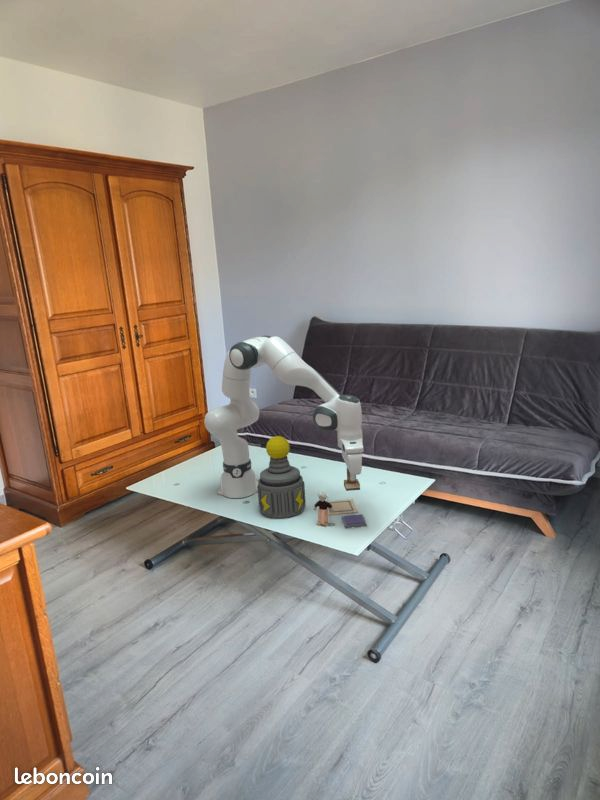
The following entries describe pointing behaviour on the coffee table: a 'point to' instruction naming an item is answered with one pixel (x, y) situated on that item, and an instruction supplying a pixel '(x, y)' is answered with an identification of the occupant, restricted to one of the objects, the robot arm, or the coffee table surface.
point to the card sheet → (342, 507)
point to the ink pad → (354, 521)
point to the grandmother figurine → (323, 509)
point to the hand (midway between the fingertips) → (351, 477)
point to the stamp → (351, 483)
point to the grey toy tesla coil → (280, 483)
